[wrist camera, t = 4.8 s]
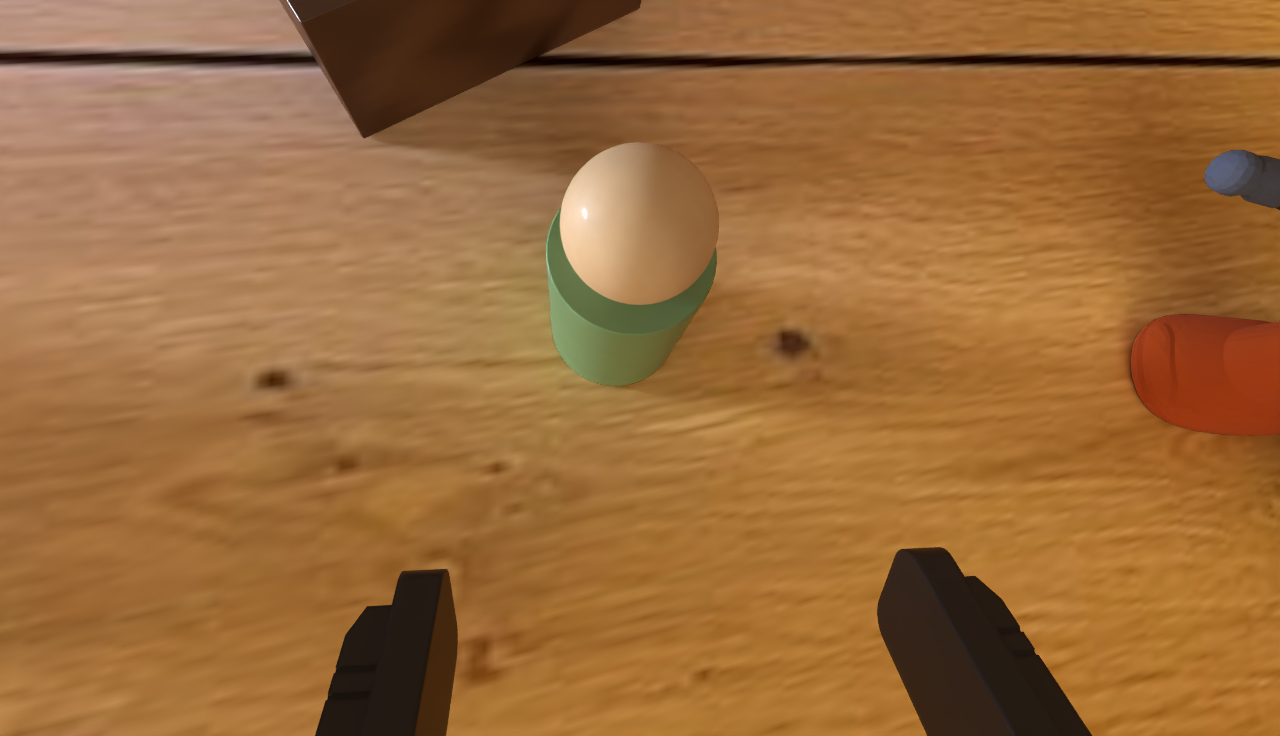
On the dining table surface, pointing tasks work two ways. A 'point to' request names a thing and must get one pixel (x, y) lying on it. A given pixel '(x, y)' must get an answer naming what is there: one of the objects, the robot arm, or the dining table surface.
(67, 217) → the dining table surface
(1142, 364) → the toy drill
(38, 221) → the dining table surface
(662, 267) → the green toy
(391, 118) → the walnut block
